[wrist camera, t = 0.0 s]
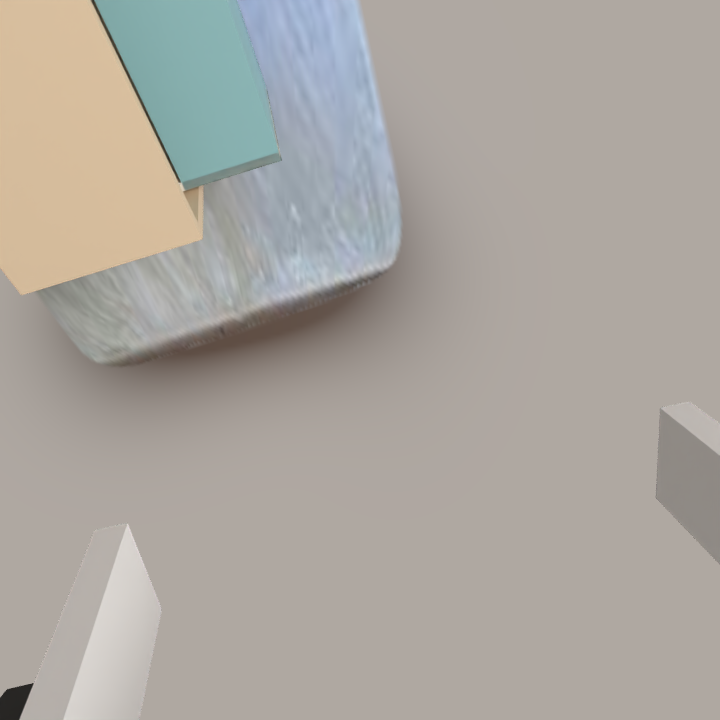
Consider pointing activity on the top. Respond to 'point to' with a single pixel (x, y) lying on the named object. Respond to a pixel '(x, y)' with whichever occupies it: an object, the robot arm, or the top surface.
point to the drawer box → (195, 84)
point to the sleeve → (78, 153)
